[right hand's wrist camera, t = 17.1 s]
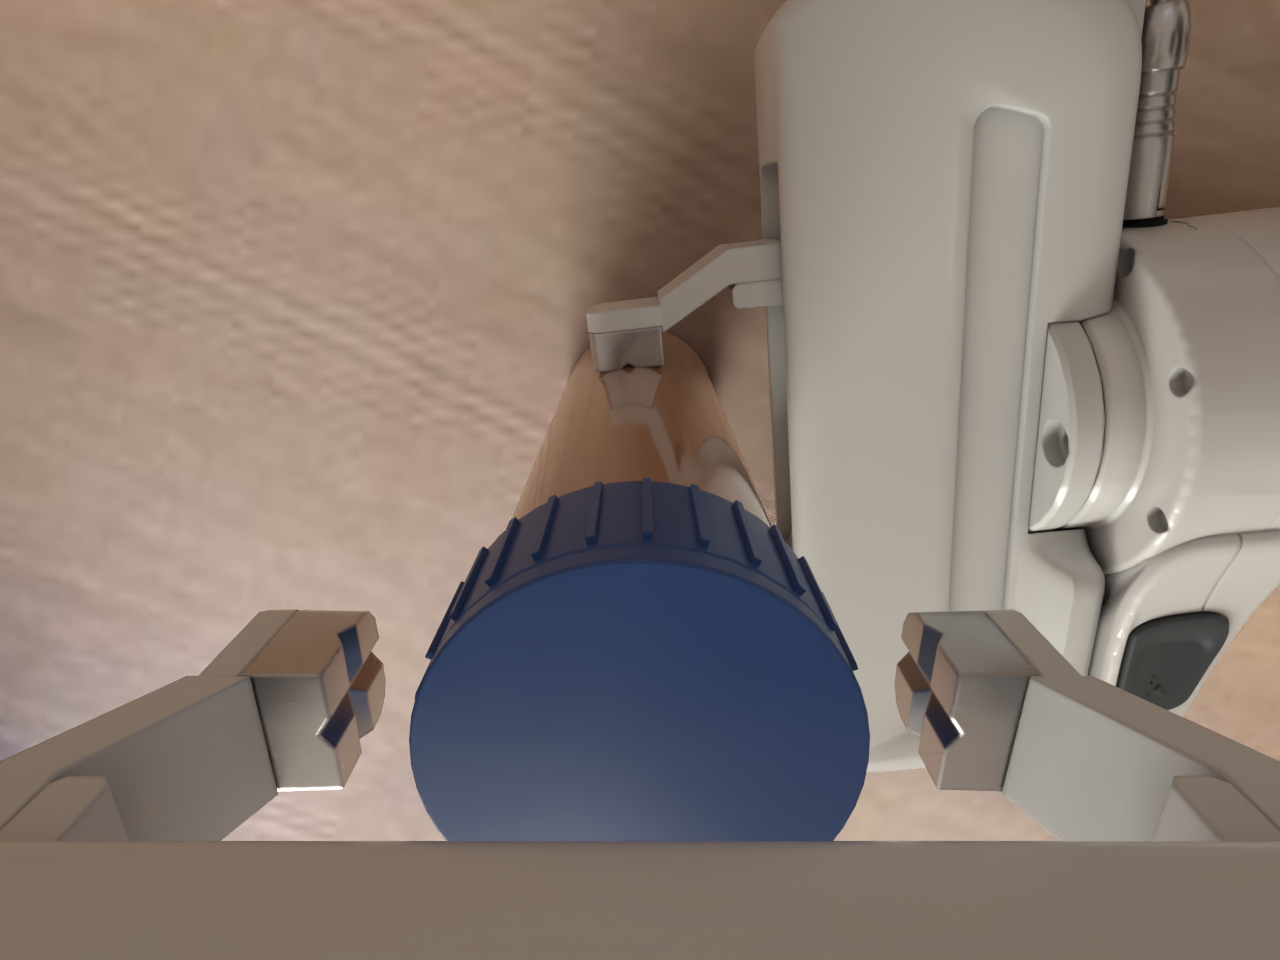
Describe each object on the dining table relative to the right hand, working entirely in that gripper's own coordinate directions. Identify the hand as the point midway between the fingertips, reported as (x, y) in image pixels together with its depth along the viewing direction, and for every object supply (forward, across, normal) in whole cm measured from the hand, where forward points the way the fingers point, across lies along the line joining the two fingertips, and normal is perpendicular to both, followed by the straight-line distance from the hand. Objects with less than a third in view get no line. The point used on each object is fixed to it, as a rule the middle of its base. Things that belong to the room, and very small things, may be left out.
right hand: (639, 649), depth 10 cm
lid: (-2, 0, 0) cm, 2 cm away
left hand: (+9, -1, 0) cm, 9 cm away
